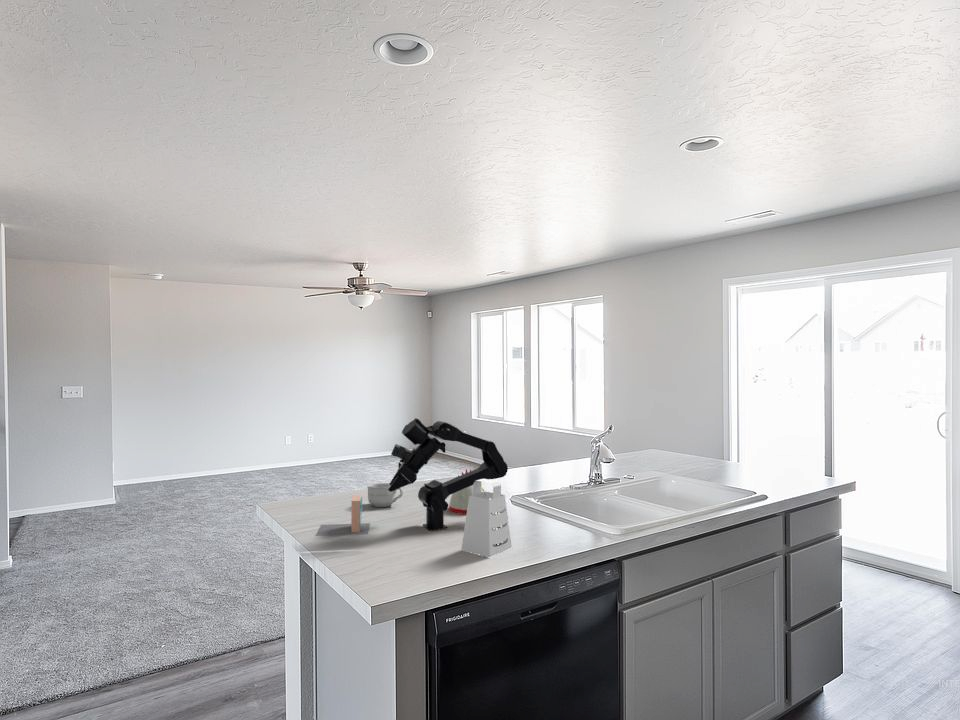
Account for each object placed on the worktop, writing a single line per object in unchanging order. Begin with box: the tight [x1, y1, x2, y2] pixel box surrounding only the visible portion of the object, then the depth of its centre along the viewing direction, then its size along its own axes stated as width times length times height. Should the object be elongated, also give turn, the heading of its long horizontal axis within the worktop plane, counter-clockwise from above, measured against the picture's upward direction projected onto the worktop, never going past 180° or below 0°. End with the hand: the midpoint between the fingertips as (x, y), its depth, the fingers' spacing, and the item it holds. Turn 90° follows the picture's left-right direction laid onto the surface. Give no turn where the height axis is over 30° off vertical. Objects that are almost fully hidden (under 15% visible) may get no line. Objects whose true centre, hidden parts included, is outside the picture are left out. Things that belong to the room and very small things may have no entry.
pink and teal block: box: [350, 494, 363, 533], centre depth 184 cm, size 3×8×10 cm, turn 7°
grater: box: [460, 479, 513, 558], centre depth 166 cm, size 10×10×20 cm
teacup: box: [367, 482, 404, 508], centre depth 215 cm, size 14×11×8 cm
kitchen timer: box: [448, 468, 485, 515], centre depth 211 cm, size 14×14×15 cm
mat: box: [315, 522, 371, 537], centre depth 183 cm, size 16×12×1 cm
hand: (389, 487), depth 185 cm, fingers open, 8 cm apart
